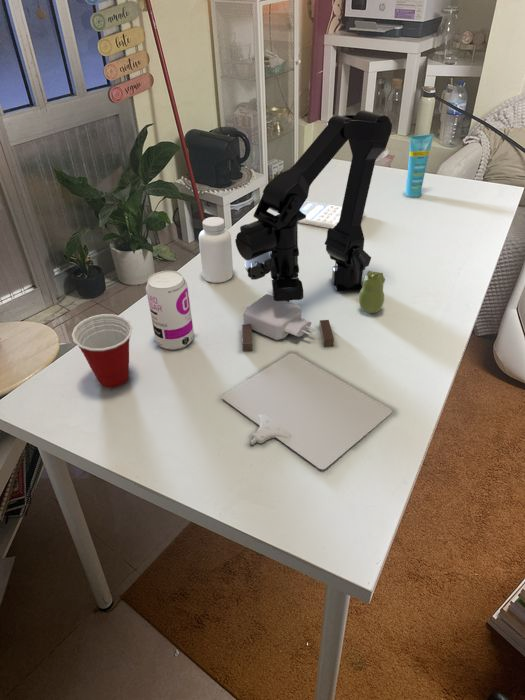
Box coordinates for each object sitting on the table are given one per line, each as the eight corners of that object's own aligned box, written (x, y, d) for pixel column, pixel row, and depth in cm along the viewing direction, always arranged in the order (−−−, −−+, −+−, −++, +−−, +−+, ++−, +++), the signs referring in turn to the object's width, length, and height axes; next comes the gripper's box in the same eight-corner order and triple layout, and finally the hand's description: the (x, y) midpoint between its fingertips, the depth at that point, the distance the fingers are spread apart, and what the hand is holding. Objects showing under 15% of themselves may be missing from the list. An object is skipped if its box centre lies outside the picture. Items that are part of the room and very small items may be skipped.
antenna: (204, 409, 97) (203, 405, 96) (291, 354, 110) (292, 350, 109) (305, 487, 82) (306, 482, 82) (393, 413, 95) (394, 408, 95)
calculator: (349, 232, 154) (350, 226, 153) (288, 221, 162) (287, 215, 160) (365, 215, 163) (365, 209, 162) (306, 205, 171) (306, 199, 170)
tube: (405, 199, 173) (414, 137, 161) (399, 193, 176) (407, 133, 165) (426, 196, 174) (436, 135, 162) (419, 191, 178) (429, 131, 166)
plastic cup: (115, 404, 99) (101, 354, 91) (74, 385, 103) (58, 335, 96) (154, 372, 106) (144, 323, 99) (114, 355, 111) (102, 307, 103)
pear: (355, 314, 120) (359, 276, 114) (360, 302, 124) (364, 264, 118) (380, 319, 118) (385, 280, 112) (384, 306, 122) (389, 268, 116)
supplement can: (200, 332, 116) (192, 272, 107) (183, 354, 110) (174, 292, 101) (167, 326, 119) (157, 266, 109) (149, 347, 112) (137, 286, 103)
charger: (300, 352, 110) (243, 328, 117) (323, 331, 115) (268, 309, 123) (300, 333, 107) (242, 310, 114) (324, 313, 112) (268, 292, 120)
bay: (328, 327, 116) (328, 319, 115) (333, 346, 111) (333, 338, 110) (242, 332, 116) (241, 324, 115) (242, 351, 110) (242, 343, 109)
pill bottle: (229, 284, 132) (225, 228, 123) (198, 282, 134) (192, 226, 125) (237, 269, 138) (233, 215, 129) (207, 267, 140) (201, 213, 131)
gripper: (244, 224, 118) (249, 283, 128) (246, 268, 103) (251, 331, 114) (294, 221, 118) (295, 280, 128) (303, 264, 104) (303, 327, 114)
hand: (285, 303), depth 121 cm, fingers closed
